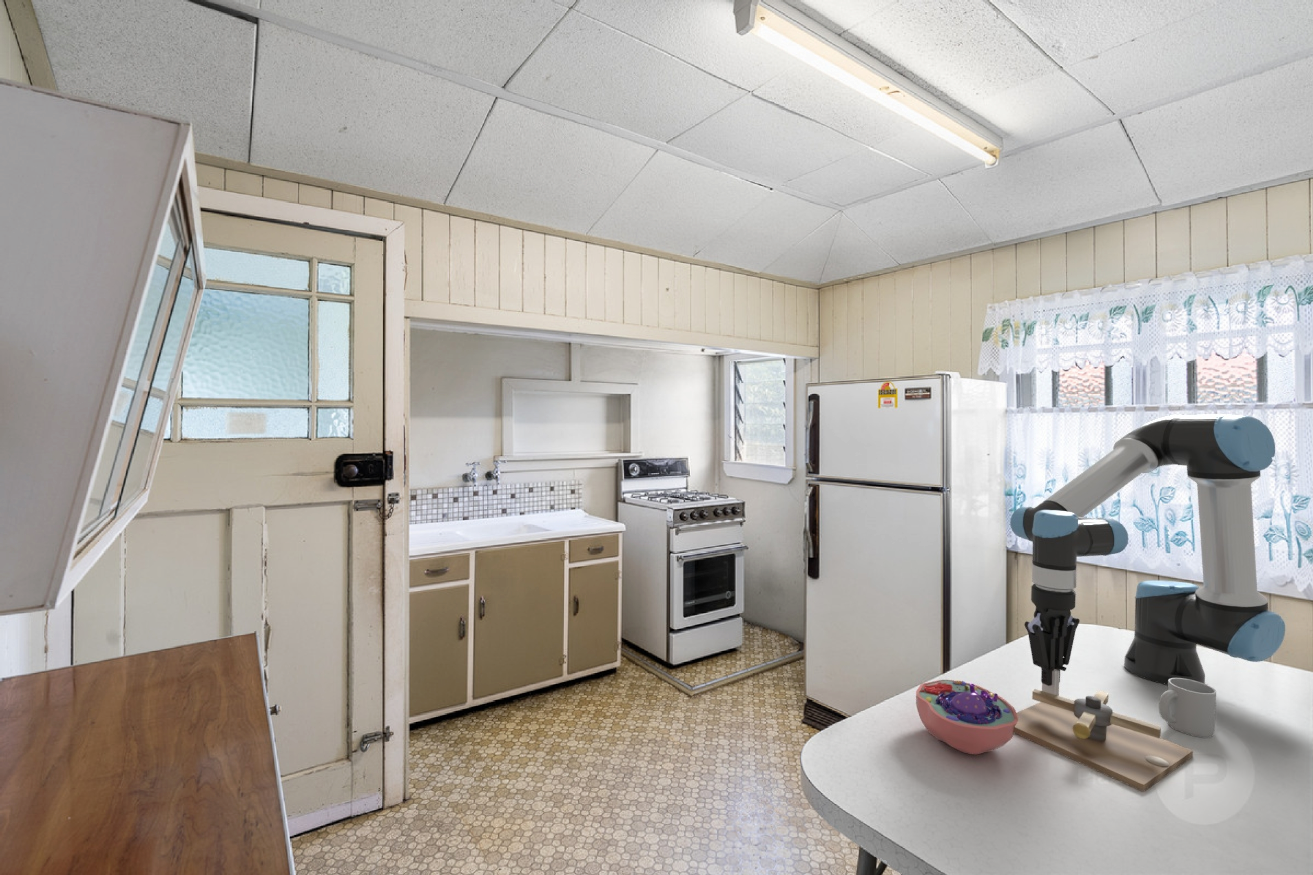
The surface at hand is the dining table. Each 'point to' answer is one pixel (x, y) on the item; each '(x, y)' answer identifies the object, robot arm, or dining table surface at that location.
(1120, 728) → the stand
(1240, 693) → the dining table surface
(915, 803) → the dining table surface
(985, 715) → the cell model
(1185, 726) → the cup
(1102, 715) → the capstan
